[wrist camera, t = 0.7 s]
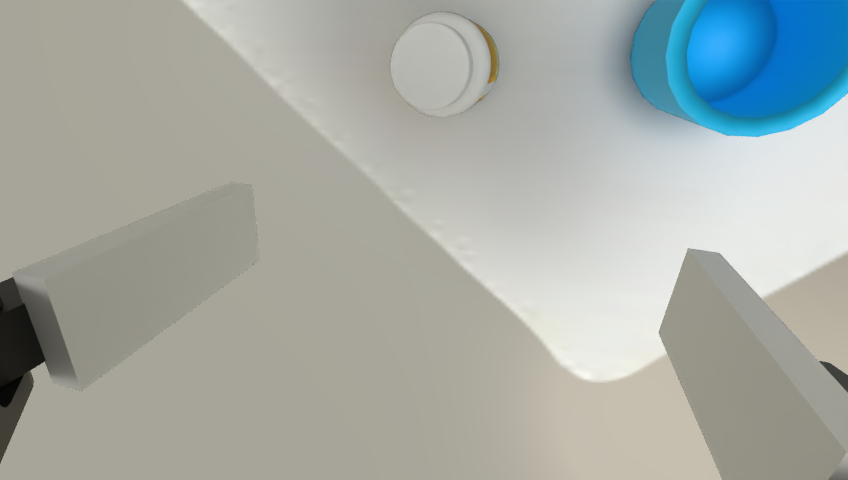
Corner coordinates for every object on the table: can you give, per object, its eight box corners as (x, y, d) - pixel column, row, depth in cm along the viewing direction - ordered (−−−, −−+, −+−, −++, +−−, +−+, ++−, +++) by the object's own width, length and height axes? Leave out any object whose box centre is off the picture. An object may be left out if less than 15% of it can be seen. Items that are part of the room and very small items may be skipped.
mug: (628, 123, 28) (660, 145, 21) (632, -17, 26) (671, -48, 18) (850, 100, 25) (979, 117, 18) (883, -63, 22) (1054, -123, 15)
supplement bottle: (447, 4, 28) (407, -21, 20) (516, 49, 28) (507, 44, 20) (408, 80, 31) (358, 87, 22) (472, 121, 31) (447, 145, 22)
